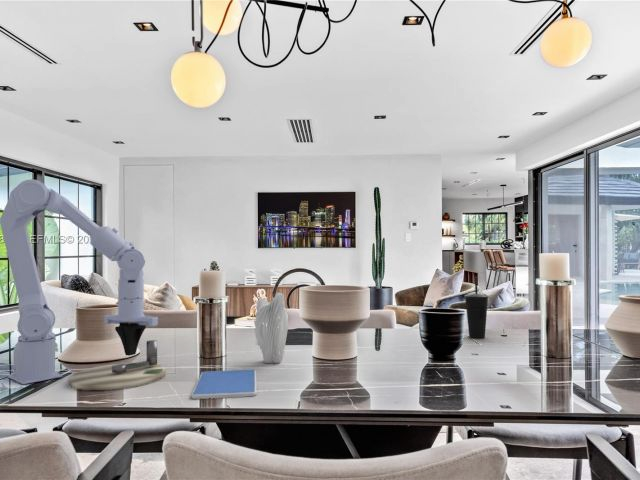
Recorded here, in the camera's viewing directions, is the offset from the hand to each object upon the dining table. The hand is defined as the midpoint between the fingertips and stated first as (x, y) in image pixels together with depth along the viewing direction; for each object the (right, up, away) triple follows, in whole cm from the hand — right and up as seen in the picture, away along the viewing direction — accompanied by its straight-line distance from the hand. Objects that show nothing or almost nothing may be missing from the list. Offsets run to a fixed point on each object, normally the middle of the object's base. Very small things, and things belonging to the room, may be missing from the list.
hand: (130, 354), depth 112 cm
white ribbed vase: (+34, -4, +6) cm, 34 cm away
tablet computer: (+26, -4, -14) cm, 30 cm away
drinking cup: (+97, -4, +40) cm, 105 cm away
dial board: (+1, -3, -8) cm, 9 cm away
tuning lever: (+3, -2, -5) cm, 6 cm away
